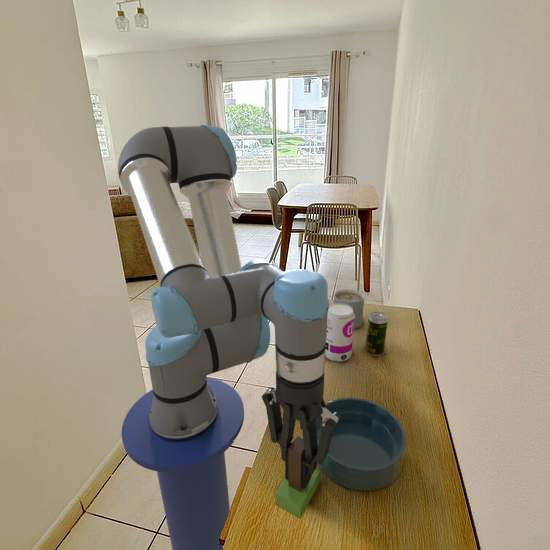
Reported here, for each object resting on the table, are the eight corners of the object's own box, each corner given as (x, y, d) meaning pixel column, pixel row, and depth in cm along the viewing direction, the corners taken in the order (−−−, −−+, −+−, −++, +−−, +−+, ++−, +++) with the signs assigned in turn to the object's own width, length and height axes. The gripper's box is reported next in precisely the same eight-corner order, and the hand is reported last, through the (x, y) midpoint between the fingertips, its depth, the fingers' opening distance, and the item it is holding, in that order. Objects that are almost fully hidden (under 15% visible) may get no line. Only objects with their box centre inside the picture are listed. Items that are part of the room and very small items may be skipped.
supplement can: (356, 354, 104) (361, 309, 99) (339, 366, 99) (343, 319, 93) (334, 343, 110) (337, 300, 104) (317, 354, 105) (319, 309, 99)
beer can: (372, 344, 109) (376, 309, 105) (387, 351, 105) (392, 316, 101) (361, 350, 106) (364, 315, 102) (376, 358, 102) (380, 322, 98)
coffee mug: (336, 312, 128) (337, 287, 124) (364, 317, 125) (366, 291, 121) (326, 330, 117) (327, 303, 113) (357, 336, 113) (359, 309, 109)
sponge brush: (300, 519, 61) (301, 469, 56) (275, 505, 63) (274, 455, 58) (319, 482, 67) (322, 434, 62) (296, 470, 69) (296, 423, 65)
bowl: (295, 465, 70) (296, 443, 68) (331, 407, 85) (332, 387, 82) (388, 511, 62) (392, 487, 59) (410, 438, 76) (414, 417, 74)
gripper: (244, 367, 55) (250, 474, 64) (338, 402, 48) (330, 518, 57) (270, 343, 61) (272, 445, 70) (356, 372, 54) (347, 481, 63)
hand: (298, 477), depth 63 cm, fingers closed on sponge brush, 2 cm apart
